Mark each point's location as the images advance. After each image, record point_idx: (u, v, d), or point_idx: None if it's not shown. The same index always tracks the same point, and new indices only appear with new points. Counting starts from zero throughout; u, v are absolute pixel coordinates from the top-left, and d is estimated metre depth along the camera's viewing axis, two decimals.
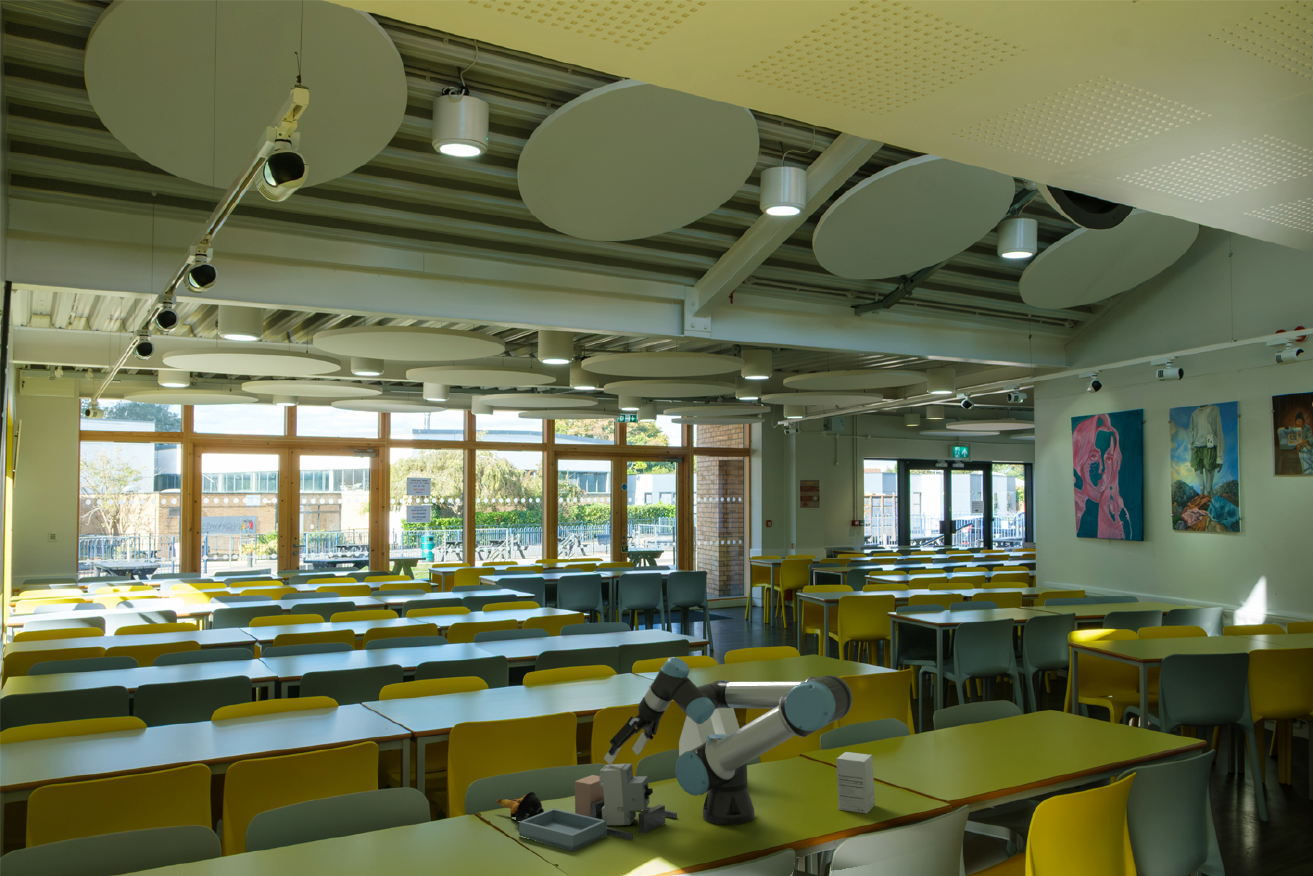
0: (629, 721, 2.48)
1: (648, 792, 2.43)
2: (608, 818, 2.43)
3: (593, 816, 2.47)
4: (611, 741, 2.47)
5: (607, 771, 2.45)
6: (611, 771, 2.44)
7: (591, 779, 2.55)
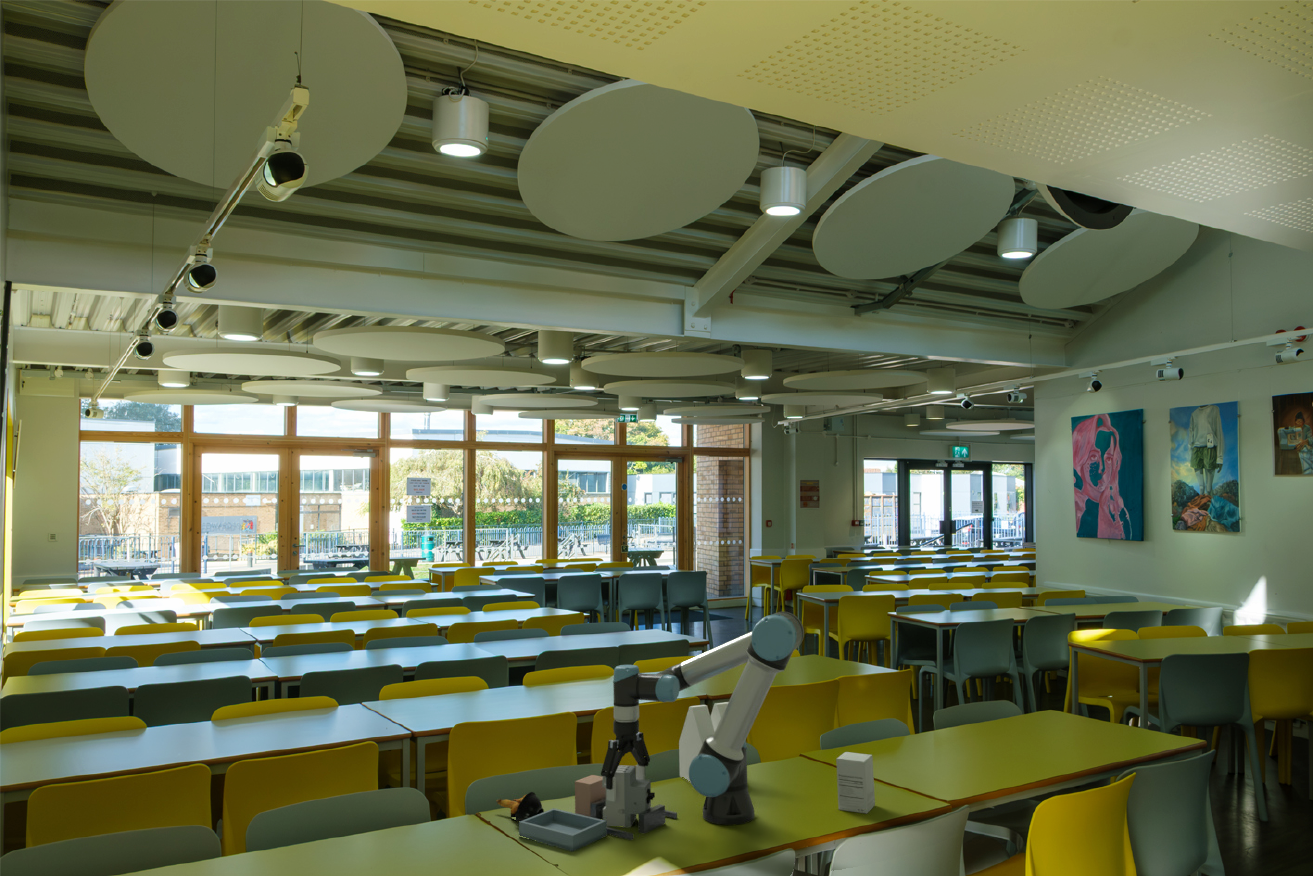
0: (609, 745, 2.43)
1: (650, 796, 2.43)
2: (608, 819, 2.43)
3: (593, 816, 2.47)
4: (602, 773, 2.40)
5: None
6: (615, 773, 2.44)
7: (591, 779, 2.54)
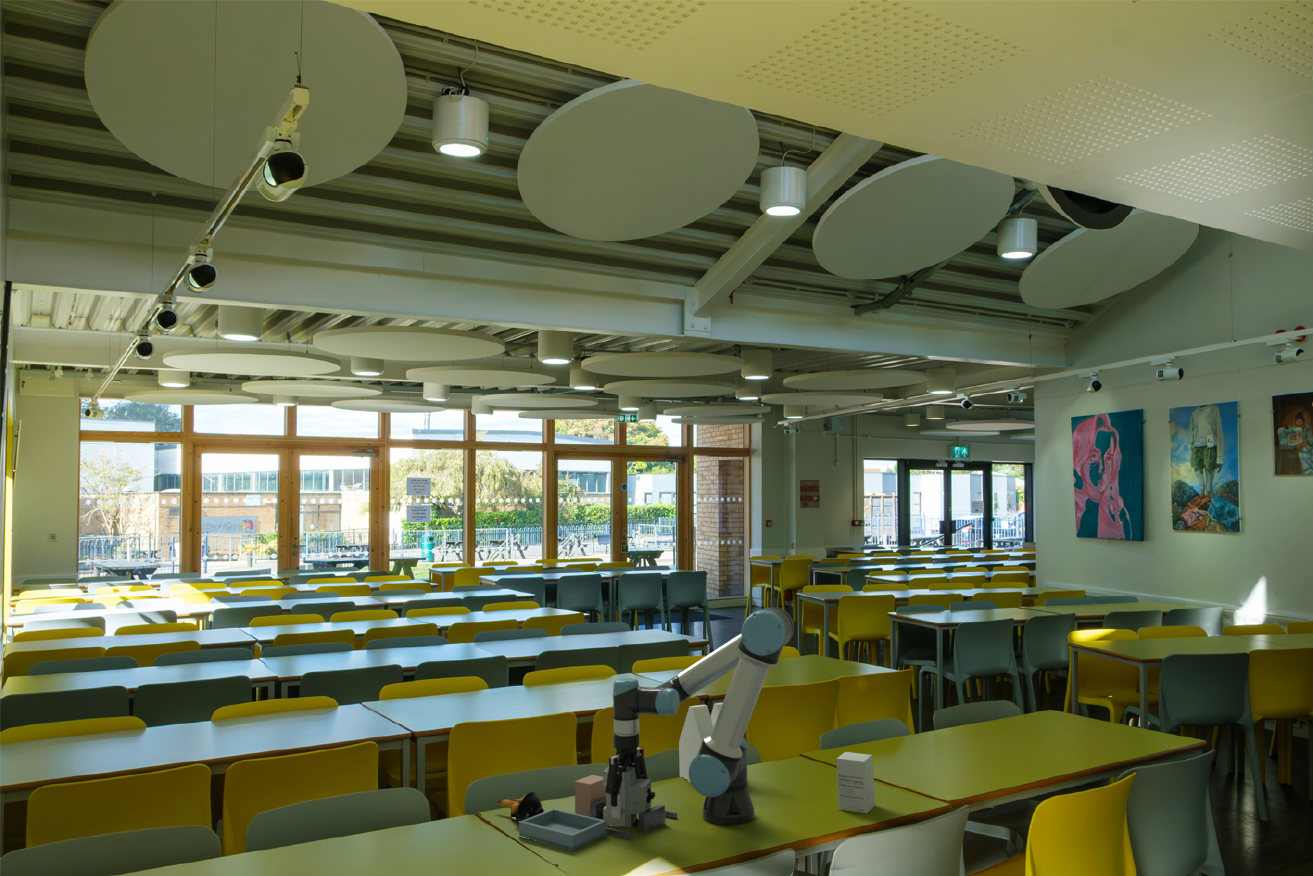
0: (610, 762, 2.43)
1: (650, 796, 2.43)
2: (609, 819, 2.43)
3: (593, 816, 2.47)
4: (606, 790, 2.41)
5: None
6: None
7: (591, 779, 2.54)
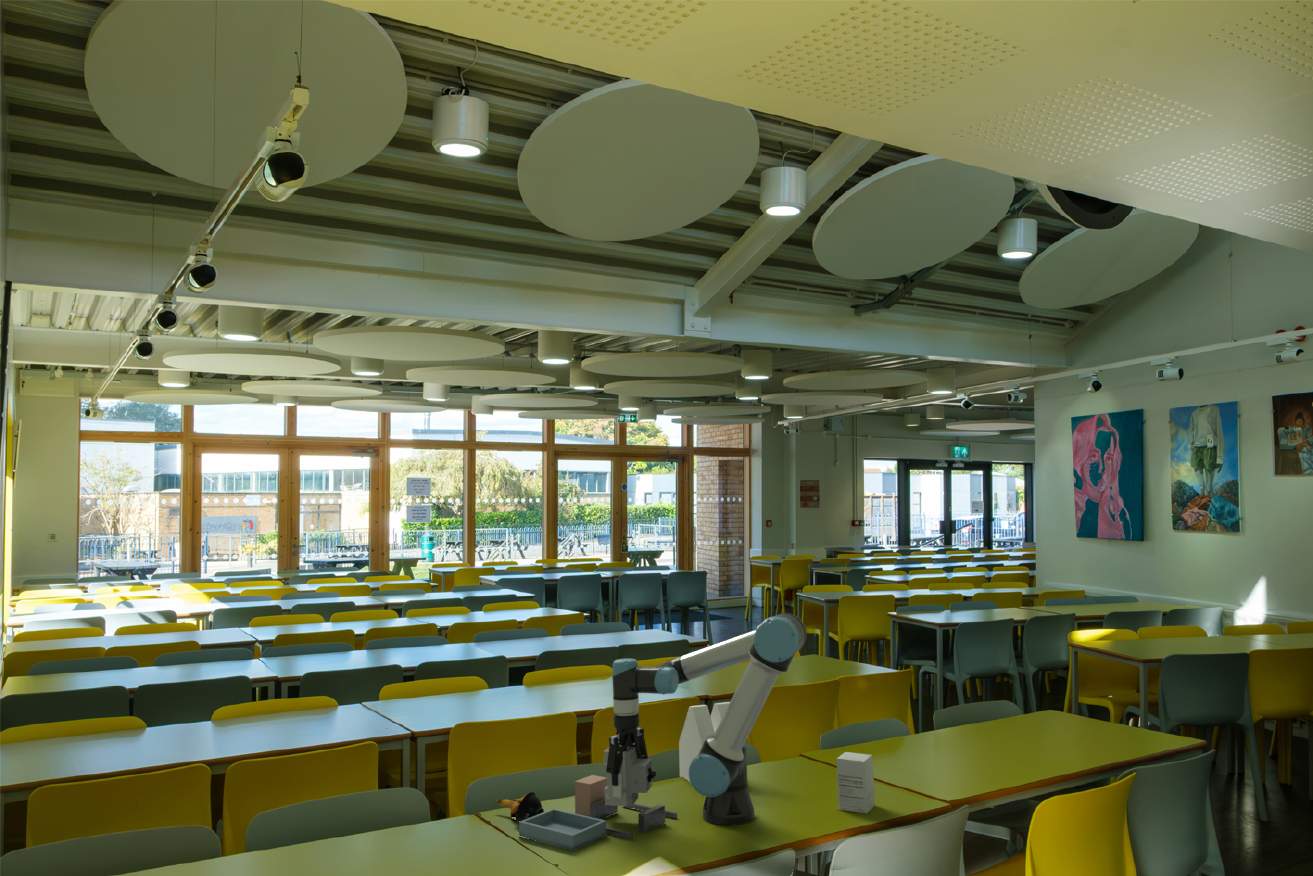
0: (610, 741, 2.43)
1: (651, 775, 2.44)
2: (610, 798, 2.44)
3: (593, 816, 2.47)
4: (607, 770, 2.41)
5: None
6: None
7: (591, 779, 2.54)
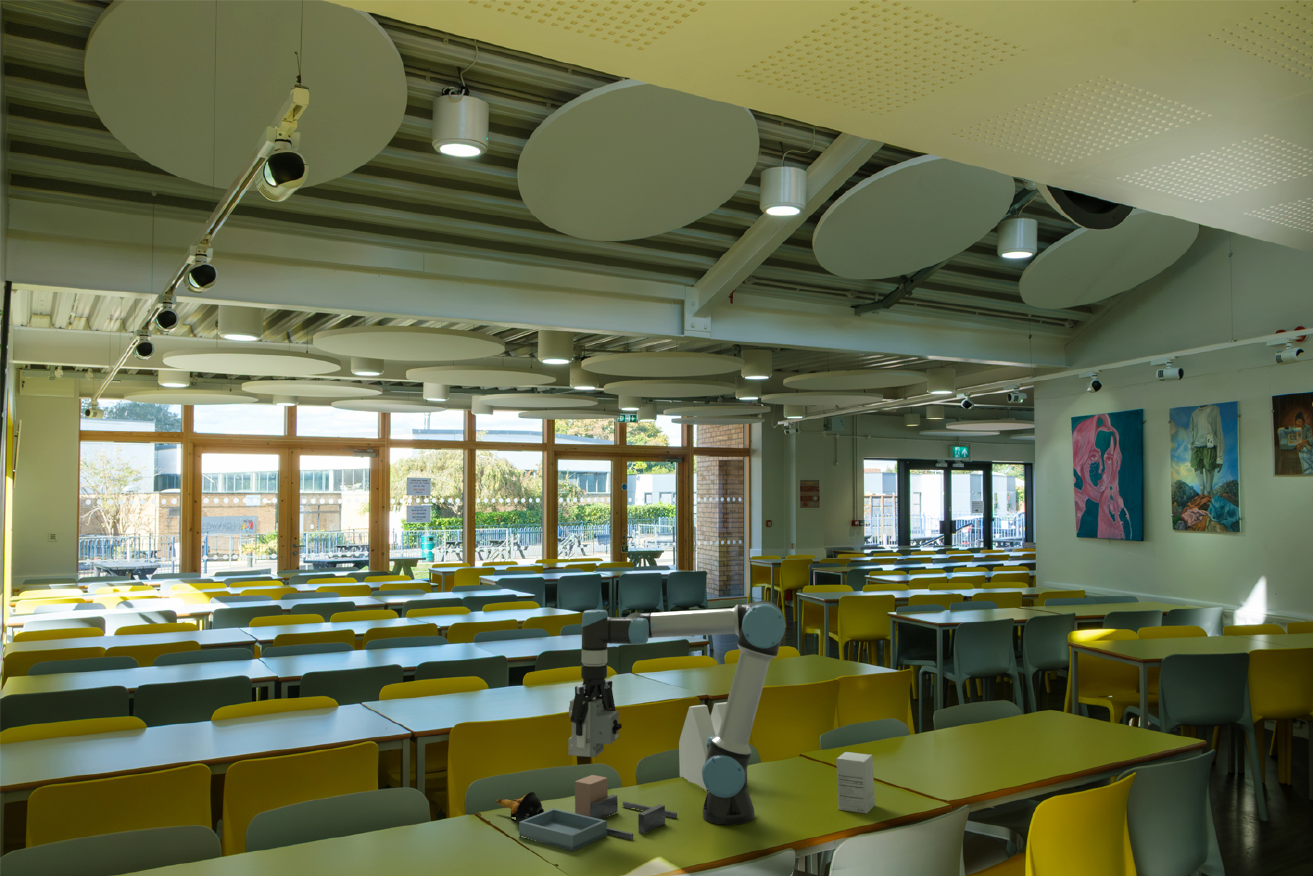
0: (576, 691, 2.40)
1: (616, 727, 2.40)
2: (574, 748, 2.41)
3: (593, 816, 2.47)
4: (571, 719, 2.38)
5: None
6: None
7: (591, 779, 2.54)
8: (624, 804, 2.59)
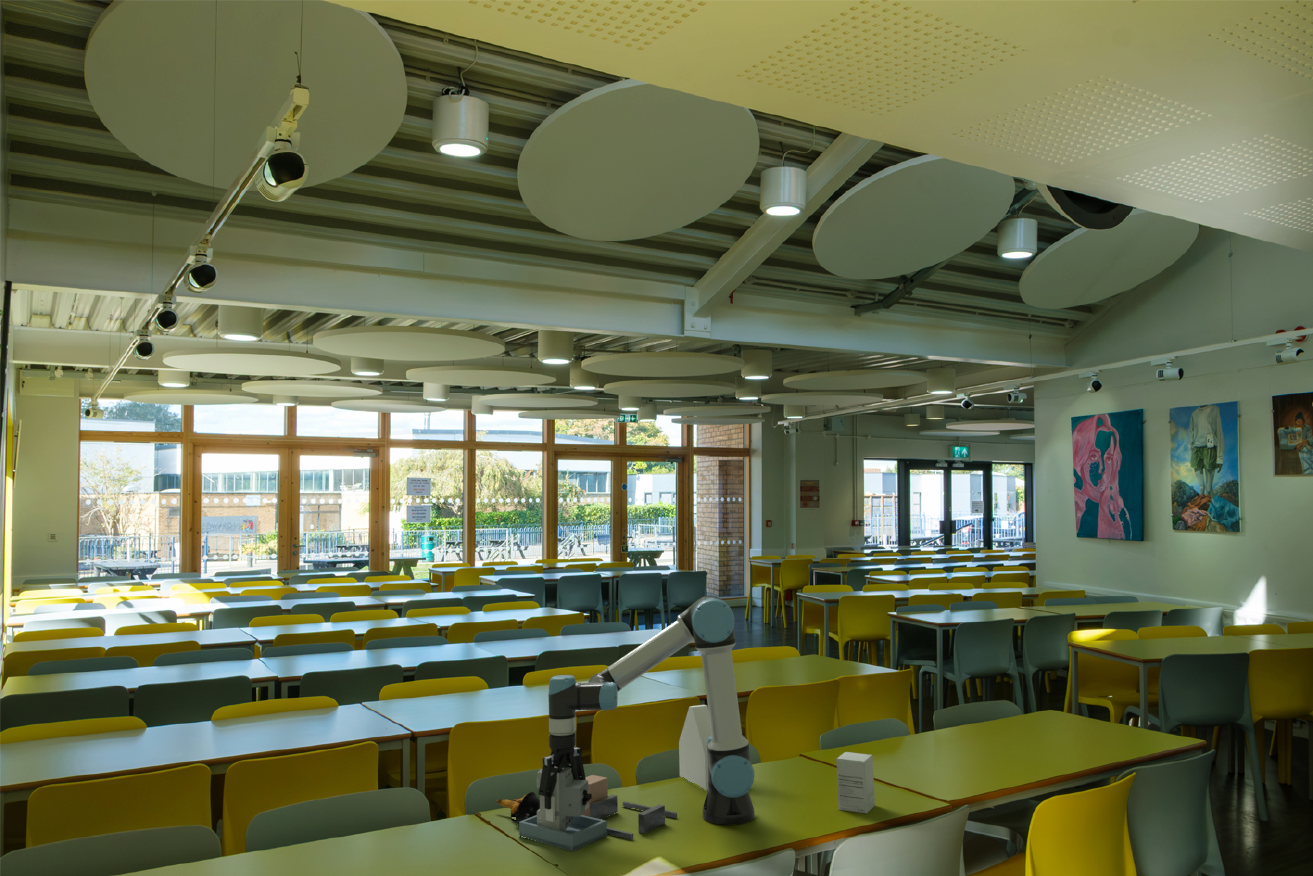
0: (543, 762, 2.32)
1: (586, 798, 2.33)
2: (543, 822, 2.33)
3: (593, 816, 2.47)
4: (539, 792, 2.30)
5: None
6: None
7: (591, 779, 2.54)
8: (624, 804, 2.59)
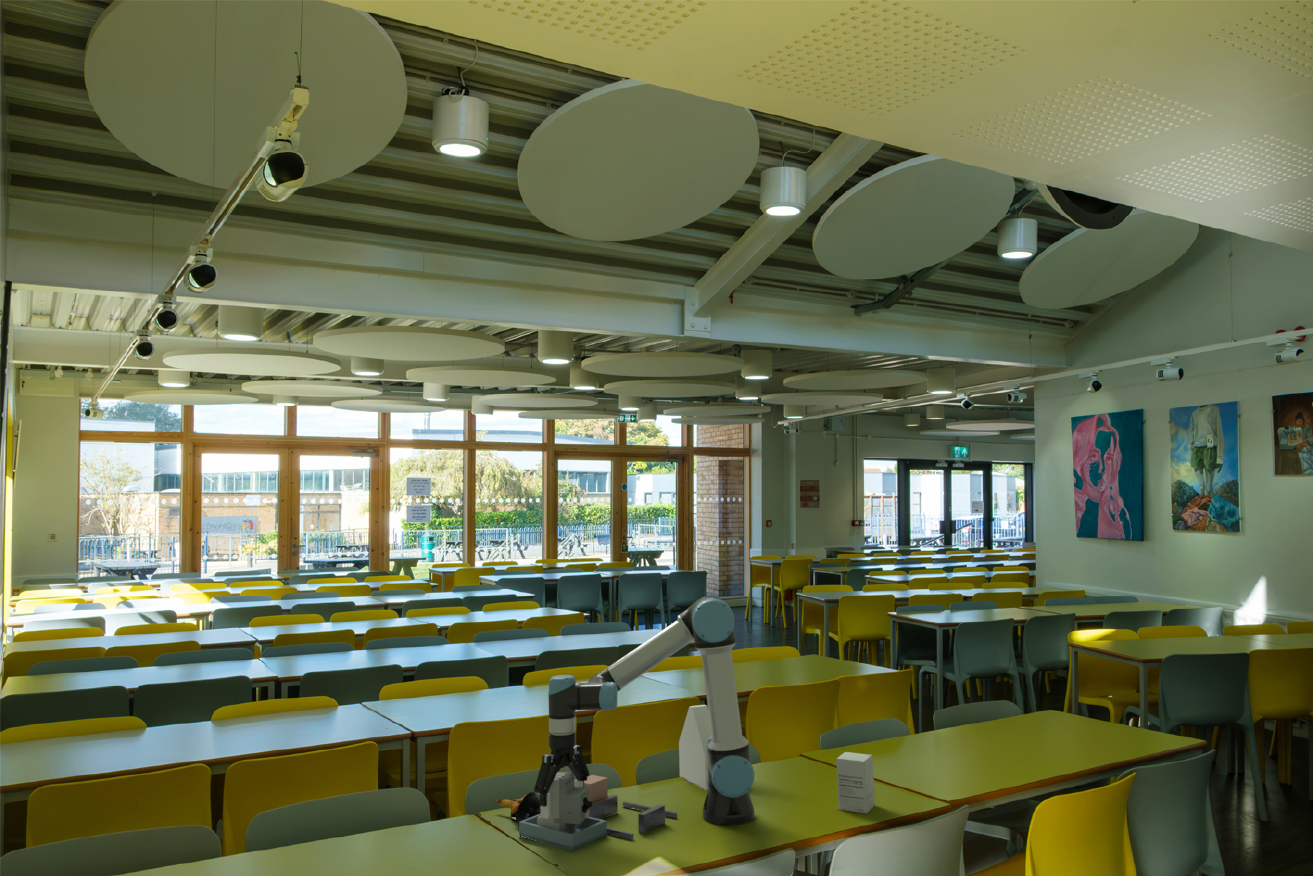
0: (543, 759, 2.32)
1: (586, 806, 2.32)
2: None
3: (593, 816, 2.47)
4: (535, 789, 2.29)
5: None
6: None
7: (591, 779, 2.54)
8: (624, 804, 2.59)
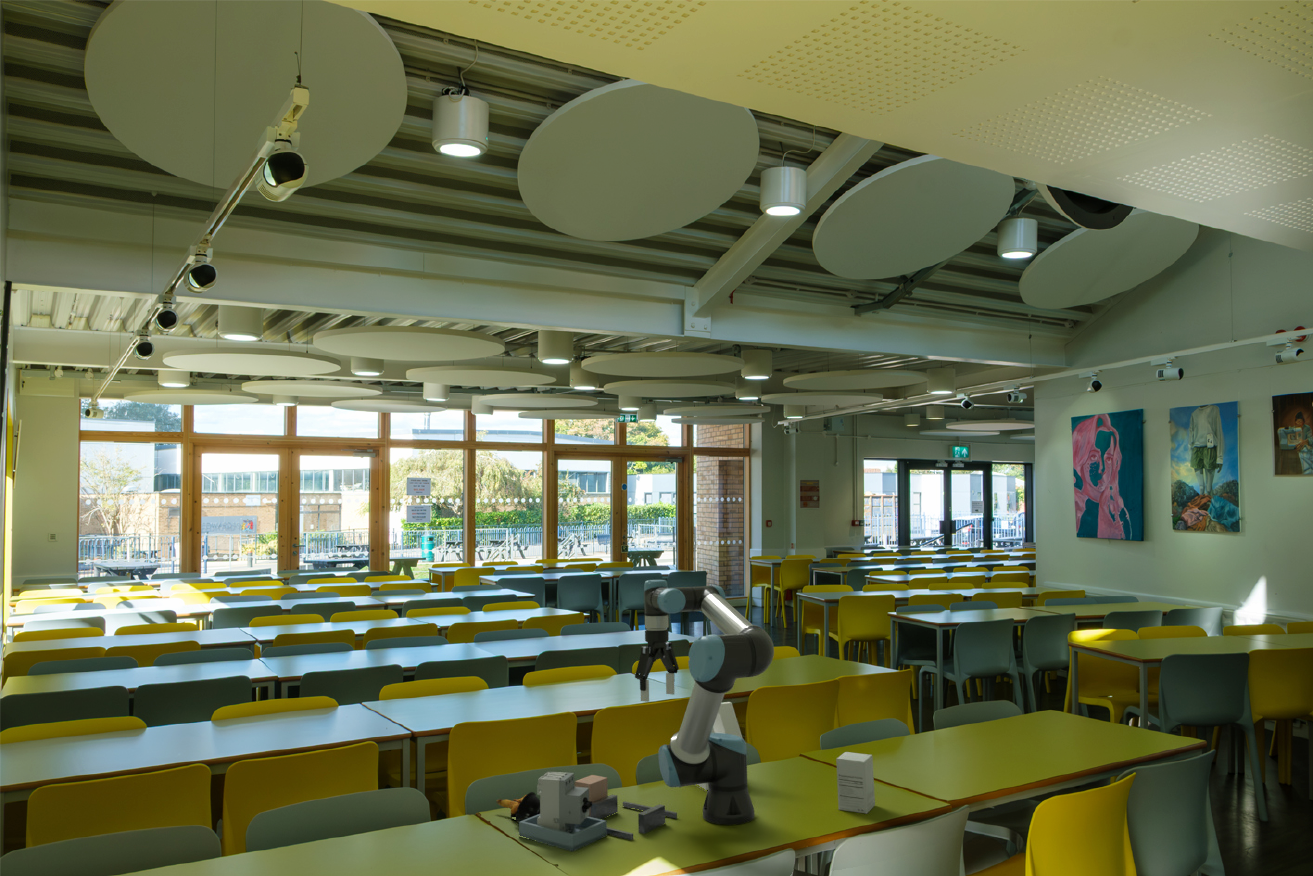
0: (642, 651, 2.64)
1: (586, 806, 2.32)
2: None
3: (593, 816, 2.47)
4: (636, 675, 2.60)
5: (545, 780, 2.34)
6: (549, 780, 2.34)
7: (591, 779, 2.54)
8: (624, 804, 2.59)
